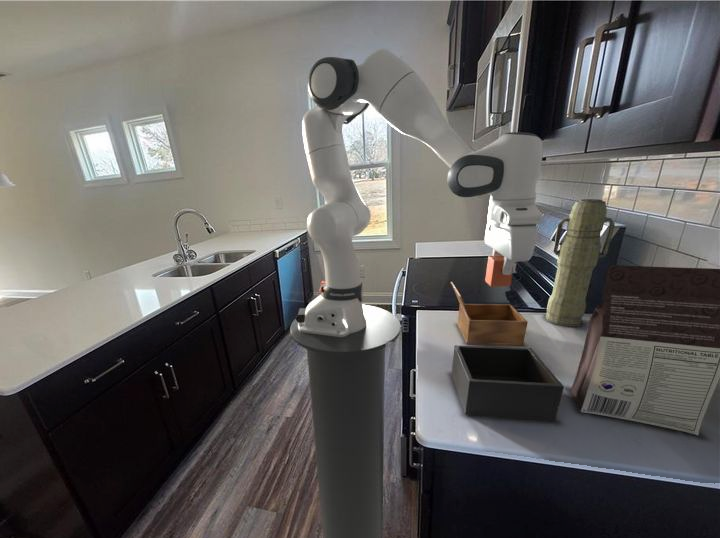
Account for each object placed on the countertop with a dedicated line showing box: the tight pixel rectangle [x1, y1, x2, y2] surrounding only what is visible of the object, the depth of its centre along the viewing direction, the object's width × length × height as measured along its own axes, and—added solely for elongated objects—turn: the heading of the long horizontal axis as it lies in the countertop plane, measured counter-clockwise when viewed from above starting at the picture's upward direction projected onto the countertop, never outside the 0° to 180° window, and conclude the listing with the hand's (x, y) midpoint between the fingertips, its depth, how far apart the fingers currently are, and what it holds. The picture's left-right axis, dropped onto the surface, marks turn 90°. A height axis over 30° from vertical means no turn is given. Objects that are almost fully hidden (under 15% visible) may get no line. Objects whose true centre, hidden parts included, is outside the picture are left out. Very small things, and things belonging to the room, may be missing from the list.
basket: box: [451, 344, 565, 422], centre depth 65 cm, size 16×14×8 cm
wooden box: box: [457, 303, 529, 347], centre depth 89 cm, size 14×12×7 cm
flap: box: [450, 281, 470, 318], centre depth 88 cm, size 7×12×1 cm
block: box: [484, 255, 515, 288], centre depth 77 cm, size 4×4×6 cm
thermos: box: [545, 198, 616, 327], centre depth 90 cm, size 9×12×35 cm
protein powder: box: [569, 264, 720, 436], centre depth 55 cm, size 16×9×28 cm, turn 66°
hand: (501, 270), depth 77 cm, fingers closed on block, 4 cm apart
